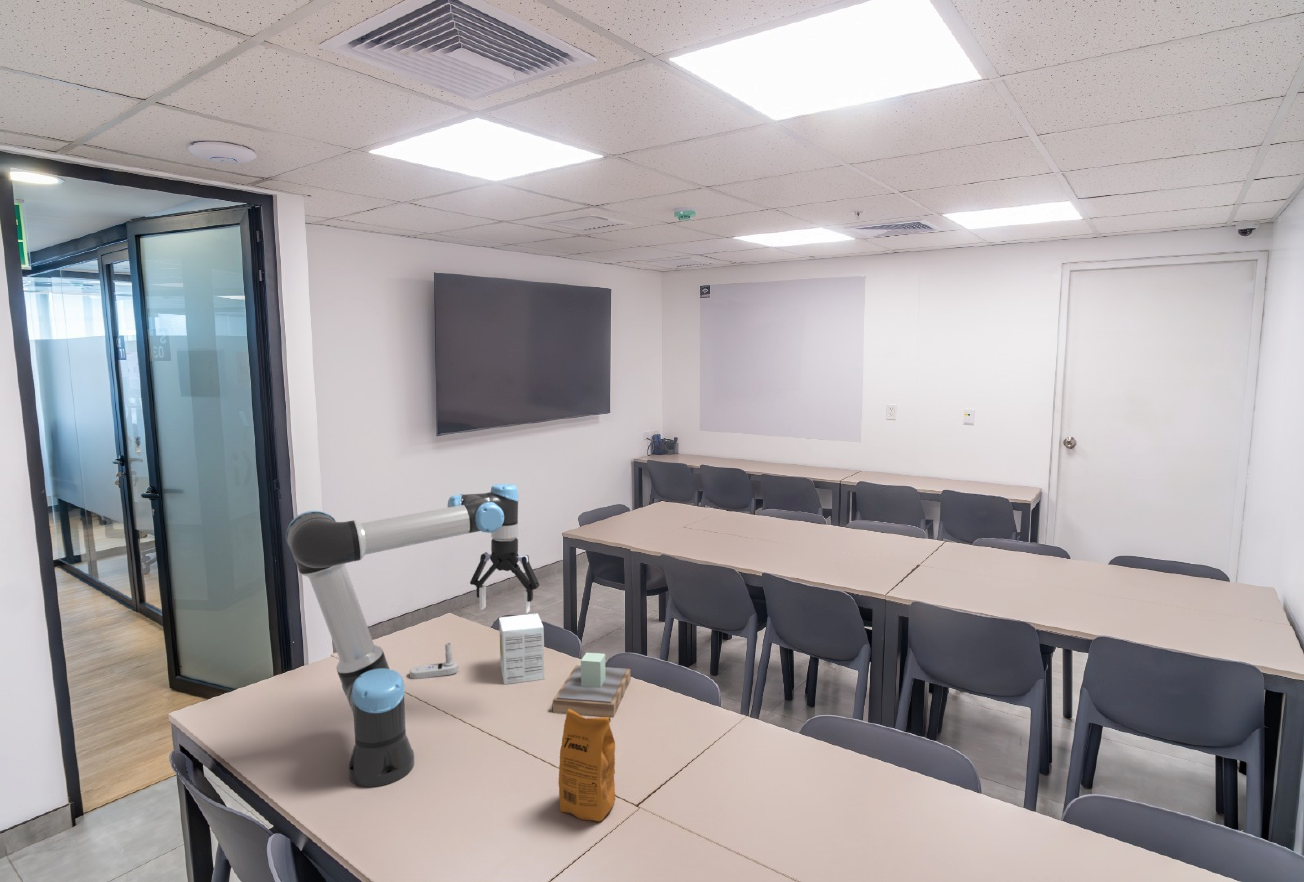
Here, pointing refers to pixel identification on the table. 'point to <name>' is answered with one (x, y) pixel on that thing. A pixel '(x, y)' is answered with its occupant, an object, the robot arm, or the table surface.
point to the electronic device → (436, 667)
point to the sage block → (593, 670)
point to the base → (593, 693)
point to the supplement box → (521, 648)
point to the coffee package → (587, 767)
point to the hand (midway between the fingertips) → (504, 610)
